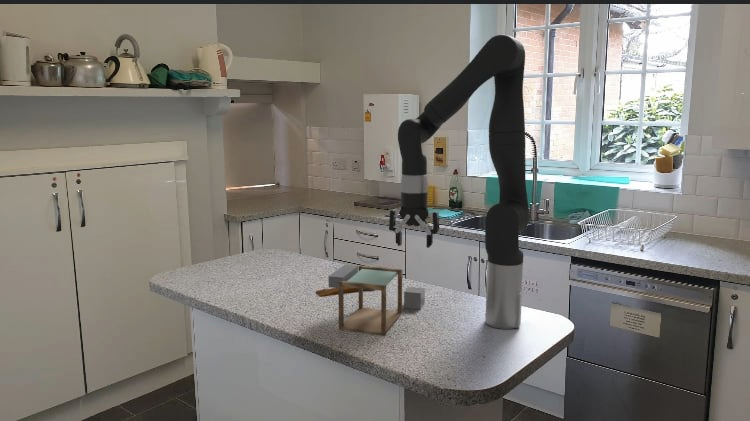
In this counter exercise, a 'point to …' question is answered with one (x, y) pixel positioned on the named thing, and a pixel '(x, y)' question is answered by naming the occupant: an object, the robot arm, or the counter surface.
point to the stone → (414, 298)
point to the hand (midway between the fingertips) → (413, 246)
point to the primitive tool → (335, 291)
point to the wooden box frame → (368, 317)
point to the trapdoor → (360, 276)
